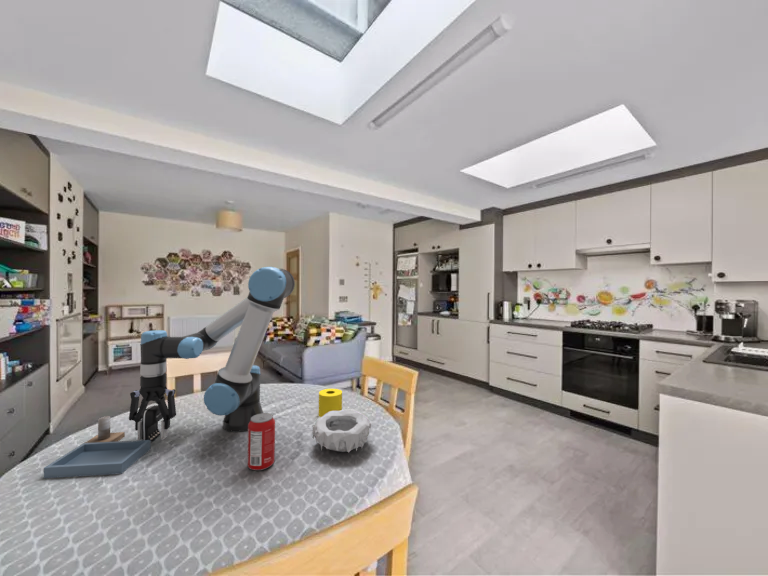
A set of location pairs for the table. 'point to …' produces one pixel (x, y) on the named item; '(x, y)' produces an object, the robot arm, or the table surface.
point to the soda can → (261, 441)
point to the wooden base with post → (106, 432)
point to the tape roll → (329, 401)
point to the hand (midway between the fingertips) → (152, 438)
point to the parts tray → (98, 459)
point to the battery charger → (151, 423)
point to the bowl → (342, 430)
